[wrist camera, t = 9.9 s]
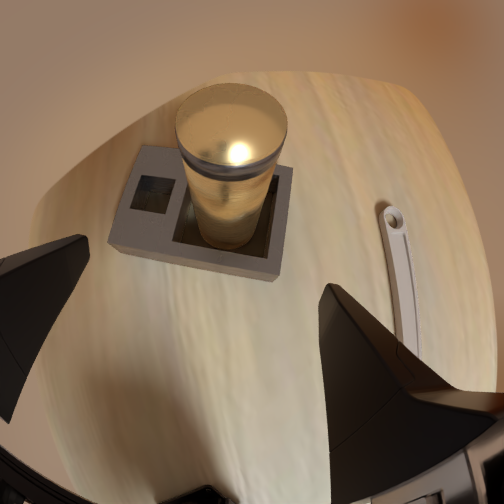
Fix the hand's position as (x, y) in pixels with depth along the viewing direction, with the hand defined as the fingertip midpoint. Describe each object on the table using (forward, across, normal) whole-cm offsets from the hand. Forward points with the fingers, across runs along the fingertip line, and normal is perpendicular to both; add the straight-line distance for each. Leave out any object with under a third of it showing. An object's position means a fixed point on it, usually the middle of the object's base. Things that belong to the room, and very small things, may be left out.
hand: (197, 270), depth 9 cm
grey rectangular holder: (+13, +2, +4) cm, 14 cm away
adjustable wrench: (+8, -18, +10) cm, 22 cm away
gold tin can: (+13, 0, +4) cm, 14 cm away
